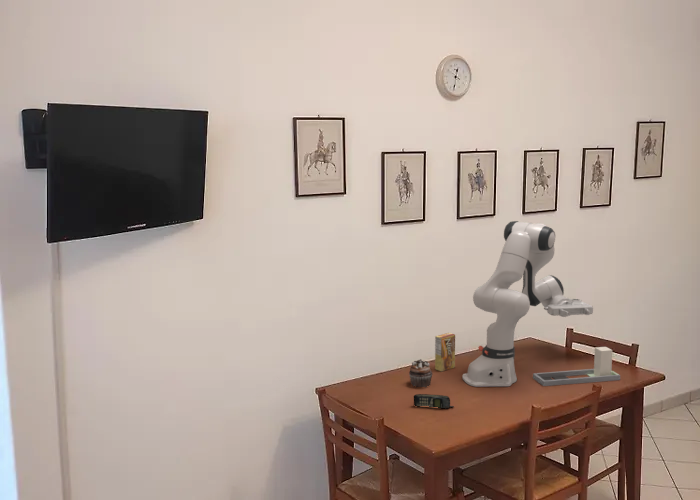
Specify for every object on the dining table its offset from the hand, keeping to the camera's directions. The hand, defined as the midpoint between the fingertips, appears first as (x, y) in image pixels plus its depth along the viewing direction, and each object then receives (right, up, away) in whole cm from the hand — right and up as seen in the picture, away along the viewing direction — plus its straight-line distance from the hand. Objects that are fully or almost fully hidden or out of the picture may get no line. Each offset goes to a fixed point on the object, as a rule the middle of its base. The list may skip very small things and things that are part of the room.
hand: (578, 313), depth 293 cm
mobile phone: (-69, -32, -42) cm, 87 cm away
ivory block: (+6, -25, -13) cm, 29 cm away
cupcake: (-71, -28, -18) cm, 79 cm away
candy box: (-59, -25, +2) cm, 64 cm away
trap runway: (-6, -26, -15) cm, 30 cm away
